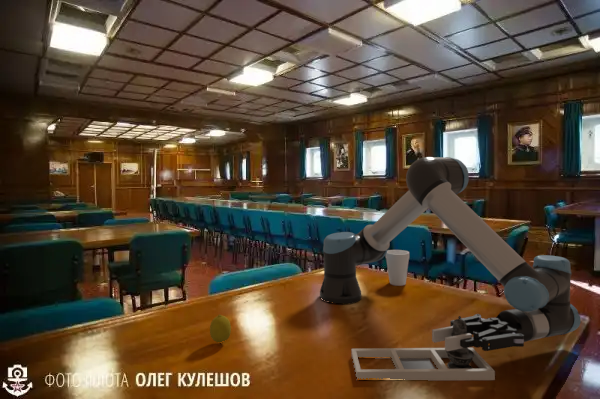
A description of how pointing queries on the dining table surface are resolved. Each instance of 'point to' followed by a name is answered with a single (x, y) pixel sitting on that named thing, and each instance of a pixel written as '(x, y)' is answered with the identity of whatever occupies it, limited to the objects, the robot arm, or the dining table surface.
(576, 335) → the dining table surface
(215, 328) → the lemon
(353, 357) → the pocket rack
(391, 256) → the foam cup
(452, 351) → the dark chess piece
